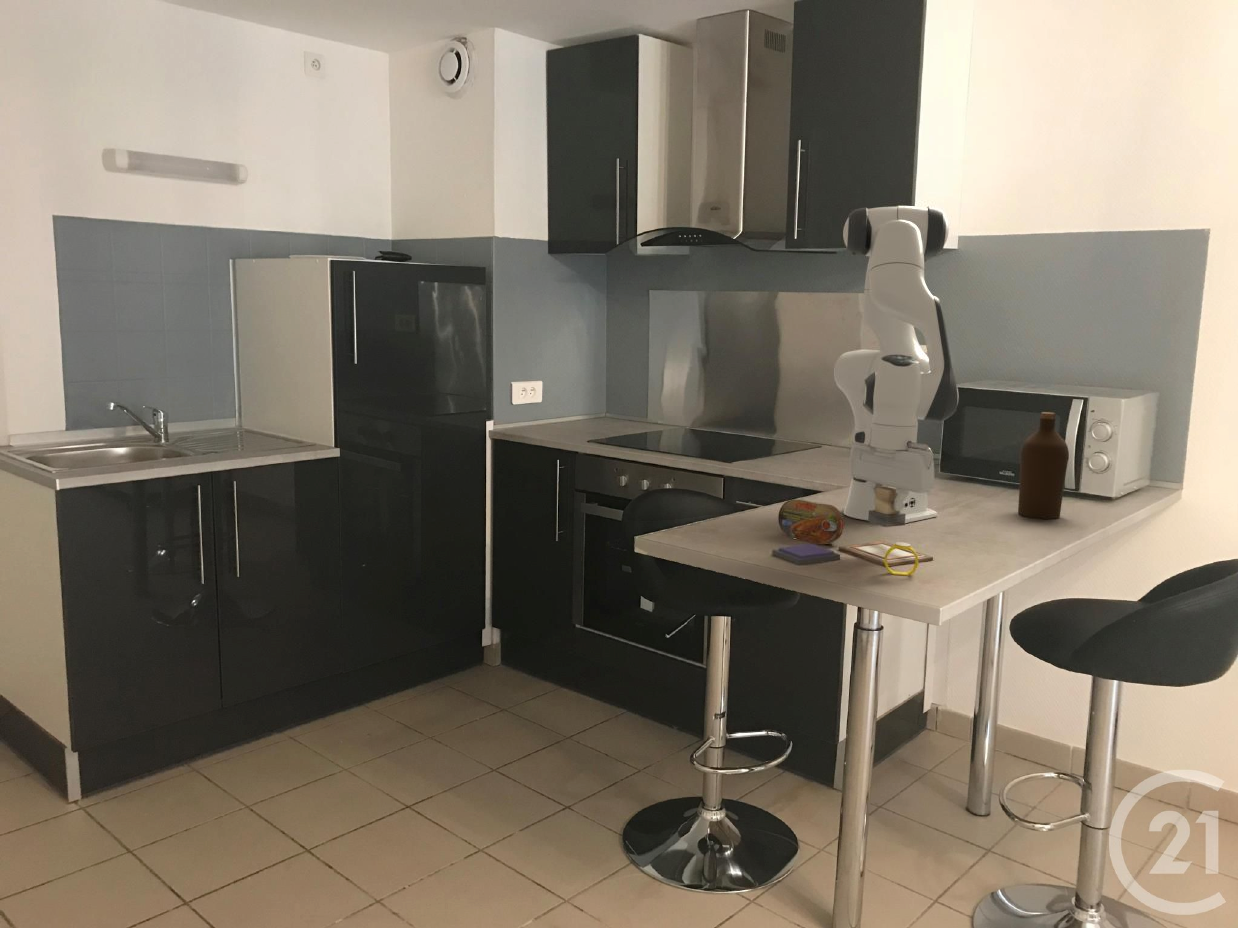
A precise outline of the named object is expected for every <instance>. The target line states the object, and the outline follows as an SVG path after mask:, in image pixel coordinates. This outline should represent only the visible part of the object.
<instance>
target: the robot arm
mask: <svg viewBox="0 0 1238 928" xmlns="http://www.w3.org/2000/svg"><path fill="white" fill-rule="evenodd" d="M949 231H950V228H949V222H948V219H947V215H946V213H945V212H944V211H943V209H940V208H937V207H932V206H927V207H921V206H913V205H912V206H911V205H896V206H881V207H873V208H867V207H861V208H857V209H854V210H852V211H851V212H850V213H849V214H848V217H847V219H846V221H845V224H844V226H843V231H842V233H843V234H842V236H843V243H844V245H845V247H846V250H847V251H848V253H849V254H851V255H853V256H856V257H860V258H864V257H865V256H866V257H869V259H868V262H867V266H866V267H867V268H866V272H865V279H864V280H865V281H864V293H863V308H862V309H863V311H862V322H863V325H864V327H865V329H866V330H868V331H869V332H871V334H873V335H874V337H875V338H876V340H877V342H878V347H879V350H877V349H876V350H875V349H858V350H857V349H856V350H852V351H851V350H850V351H847V352H844V353H842V354H841V355H840V356H839V357H838V359H837V360H836V362H835V364H834V368H833V379H834V382H835V384H836V386H837V388H838V389H839V390H840V391H841V392H842V393H843V394H844V396H845V397H846V399H847V401H848V403H849V404H850V408H851V411H852V414H853V415H852V416H853V418H854V427H855V429H854V430H855V431H854V432H853V433H852V435H851V441H852V443H853V445H852V446H851V448H850V449H851V450H850V455H849V463H848V464H849V465H848V467H849V469H848V470H849V474H850V476H851V481H850V486H849V492H848V495H847V496H848V497H847V501H846V504H845V507H844V510H843V515H846V516H847V517H850V518H852V519H858V520H862V521H868V515H869V511H870V510H875V501H876V488H877V487H894V488H896V493H897V494H898V495H897V497H896V499H895V501H891V509H892V510H896V511H900V512H901V513H904V514H906V516H905V524H907V523H908V524H909V523H912V522H917V521H921V520H926V519H931V518H935V517H938V512H937V511H936V510H934V509H931V508H929V507H928V496H927V494H929V493H931V492H932V491H933V489H934V487H935V463H934V453H933V450H932V449H931V448H930V447H929V445H927V444H925V443H918V441H917V440H918V429H919V422H918V420H921V421H927V422H934V423H942V422H944V421H945V420H948V419H949V418H950V417H951V416H953V415H954V413H956V412H957V408H958V405H959V398H960V397H959V389H958V385H957V382H956V378H955V377H956V376H955V373H954V370H953V369H954V368H953V364H952V357H951V351H950V344H949V339H948V338H949V337H948V332H947V326H946V321H945V316H944V311H943V308H942V304H941V301H940V299H939V297H937V296H935V295H934V294H932V293H931V291H930V290H929V288H928V286H927V283H926V280H925V262H927V259H929V258H931V257H934V256H937V255H938V254H939V253H940V252H941V251H942V250H944V247H945V245H946V243H947V241H948V238H949ZM915 328H916V329H917V330H918V331H920V332H921V333H922V335H923V337H924V341H925V345H926V353H927V354H926V353H925V352H924V350H923V349H922V347H921V345H920V343H919V340H918V338H917V334H916V331H915Z"/></svg>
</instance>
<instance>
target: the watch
mask: <svg viewBox="0 0 1238 928" xmlns="http://www.w3.org/2000/svg"><path fill="white" fill-rule="evenodd" d="M893 545H894V546H892V547H890V548H889V549H888V551H887V552H886V554H885V558H884V563H885V566H884V567H885V568H886V570H887V571H888V572H889V573H890V574H891V575H894V576H903V577H904V576H905V577H909V576H911V575H913V574H914V573H915V571H916V570H917V568H918V566H919V562H918V556H917V554H916V552H917V551H916V550H915V549H914V548H913V547H911V544H910V543H908V542H901V541H900V542H899V541H898V542H897V541H896V542H895V543H894V544H893ZM896 548H899V549H909V550H910V551H912V552H913V554H914V555H915V557H916V563H914V565H913V567H912V569H909V570H908V571H907V572H905V571H904V572H903V571H893V570H892V569H891V568H890V566H888V564H887V556H888V555H889V553H890V552H891V551H892V550H894V549H896Z"/></svg>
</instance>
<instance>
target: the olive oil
mask: <svg viewBox="0 0 1238 928" xmlns="http://www.w3.org/2000/svg"><path fill="white" fill-rule="evenodd" d="M1055 426H1056V413H1055V412H1051V411H1050V412H1049V411H1048V412H1047V411H1046V412H1045V411H1041V414H1040V419H1039V427H1038V428H1037V430H1036V431H1034V432H1033V433H1032V434H1031V435H1030V436H1029V437H1028V438H1026V439H1025V441H1024V442H1023V443H1022V446H1021V449H1020V458H1019V459H1020V462H1019V463H1020V464H1019V465H1020V466H1019V467H1020V468H1019V470H1020V471H1019V490H1018V491H1019V493H1018V504H1017V505H1018V507H1017V513H1018V514H1019V515H1021V516H1022V517H1023V516H1024V517H1026V518H1033V519H1040V520H1054V519H1055V520H1056V519H1059V518H1060V516H1061V510H1062V504H1063V497H1064V496H1063V494H1064V490H1065V489H1064V488H1065V482H1066V476H1067V469H1068V463H1069V458H1070V455H1069V454H1070V452H1069V447H1068V445H1067V442H1066V441H1065V440H1064V439H1063V437H1062V436H1061V435H1060V434H1059V432H1057V430H1056V427H1055Z"/></svg>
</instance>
